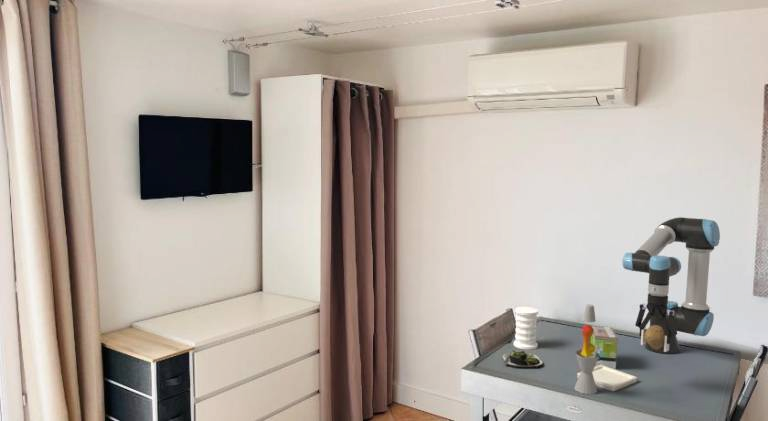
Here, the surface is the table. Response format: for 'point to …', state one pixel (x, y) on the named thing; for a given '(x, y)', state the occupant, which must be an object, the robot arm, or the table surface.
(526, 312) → the decorative container
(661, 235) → the robot arm
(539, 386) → the table surface
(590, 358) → the lava lamp
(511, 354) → the salad plate
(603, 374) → the tray
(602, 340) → the tea box
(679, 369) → the table surface
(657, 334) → the natural sponge
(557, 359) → the table surface
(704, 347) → the table surface
